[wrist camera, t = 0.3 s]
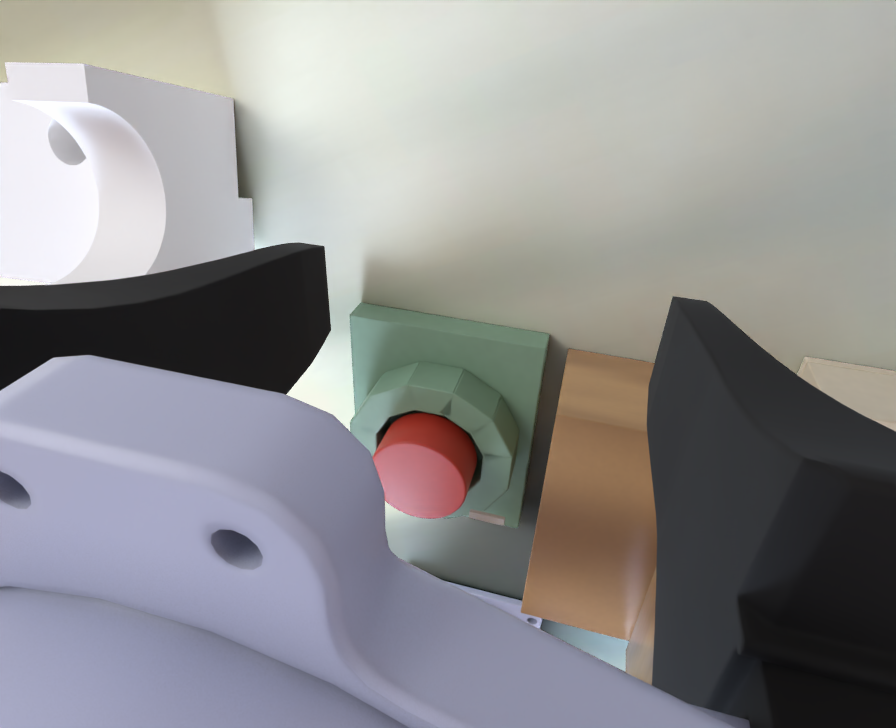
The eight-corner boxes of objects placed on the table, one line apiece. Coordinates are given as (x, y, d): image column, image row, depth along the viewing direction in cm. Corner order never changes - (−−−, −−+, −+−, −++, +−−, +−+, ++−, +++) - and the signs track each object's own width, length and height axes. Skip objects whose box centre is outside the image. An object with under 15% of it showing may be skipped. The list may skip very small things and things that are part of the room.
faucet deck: (810, 638, 28) (837, 739, 24) (479, 557, 31) (458, 635, 27) (998, 350, 19) (1088, 439, 15) (510, 277, 22) (484, 336, 18)
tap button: (474, 495, 25) (463, 529, 24) (386, 475, 26) (370, 507, 24) (481, 422, 23) (469, 454, 21) (384, 403, 24) (367, 432, 22)
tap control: (521, 510, 29) (511, 559, 26) (368, 475, 30) (344, 518, 28) (550, 333, 23) (540, 373, 21) (360, 302, 25) (330, 336, 22)
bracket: (248, 101, 22) (83, 63, 15) (256, 285, 24) (115, 325, 17) (-20, 93, 25) (-262, 57, 18) (8, 258, 27) (-197, 283, 20)
